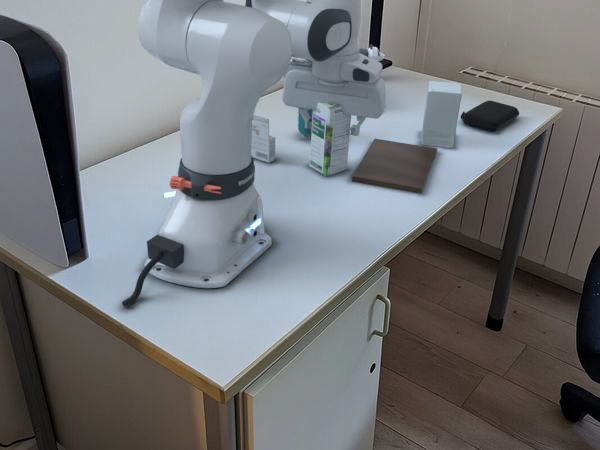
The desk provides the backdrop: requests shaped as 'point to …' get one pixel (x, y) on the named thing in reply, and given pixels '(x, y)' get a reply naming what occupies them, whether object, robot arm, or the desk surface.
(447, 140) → the white packaging box
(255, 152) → the ink cartridge box
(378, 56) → the giant panda
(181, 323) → the desk surface
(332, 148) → the syrup box
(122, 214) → the desk surface
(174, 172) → the desk surface
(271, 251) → the desk surface
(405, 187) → the walnut board
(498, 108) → the carrying case
